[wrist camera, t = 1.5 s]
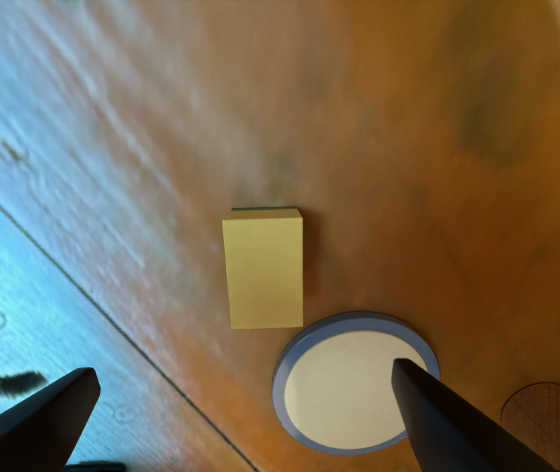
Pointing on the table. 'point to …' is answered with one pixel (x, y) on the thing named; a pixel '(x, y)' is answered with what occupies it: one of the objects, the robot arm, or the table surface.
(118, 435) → the table surface
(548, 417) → the disposable coffee cup
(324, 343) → the plate
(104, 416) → the table surface
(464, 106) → the table surface
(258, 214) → the sponge
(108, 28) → the table surface
